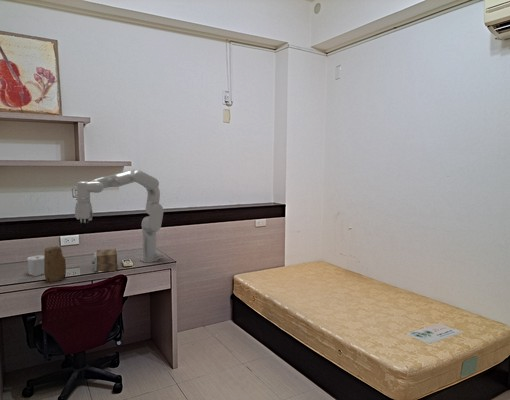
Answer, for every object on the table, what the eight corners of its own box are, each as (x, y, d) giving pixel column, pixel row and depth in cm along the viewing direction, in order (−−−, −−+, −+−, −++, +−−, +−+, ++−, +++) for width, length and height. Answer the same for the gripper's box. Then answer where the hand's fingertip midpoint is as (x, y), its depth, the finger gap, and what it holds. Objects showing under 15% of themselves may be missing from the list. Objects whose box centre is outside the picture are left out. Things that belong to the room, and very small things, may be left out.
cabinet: (116, 264, 257) (115, 248, 256) (117, 270, 245) (116, 254, 243) (97, 266, 253) (96, 250, 251) (97, 272, 240) (96, 255, 238)
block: (46, 283, 218) (45, 249, 216) (44, 279, 224) (42, 247, 221) (67, 279, 225) (66, 247, 223) (63, 276, 231) (62, 244, 228)
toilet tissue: (43, 269, 243) (42, 254, 241) (51, 273, 235) (50, 258, 234) (25, 273, 234) (24, 257, 233) (32, 277, 227) (32, 261, 226)
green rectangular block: (96, 264, 253) (96, 250, 252) (96, 270, 240) (96, 256, 239) (92, 264, 252) (91, 251, 251) (92, 271, 239) (91, 256, 238)
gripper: (69, 200, 237) (70, 229, 240) (90, 202, 234) (91, 230, 237) (77, 199, 245) (78, 226, 247) (97, 200, 242) (98, 228, 244)
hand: (84, 228), depth 242 cm, fingers closed
